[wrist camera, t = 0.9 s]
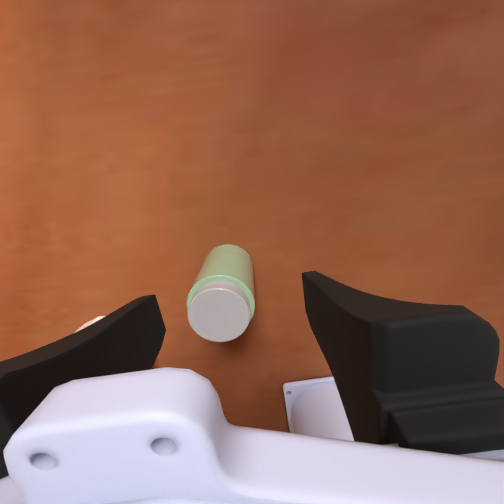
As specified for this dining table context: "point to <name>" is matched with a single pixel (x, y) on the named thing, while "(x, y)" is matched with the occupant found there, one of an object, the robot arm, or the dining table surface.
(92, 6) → the dining table surface
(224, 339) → the salt shaker
